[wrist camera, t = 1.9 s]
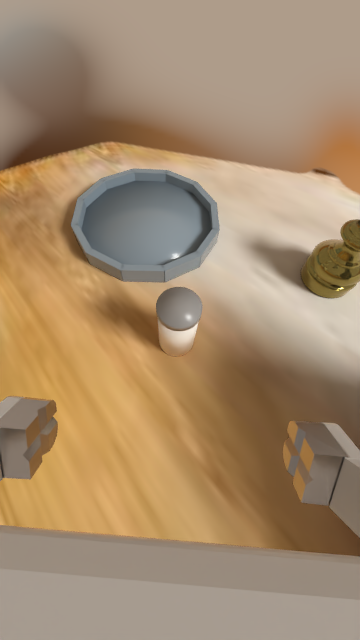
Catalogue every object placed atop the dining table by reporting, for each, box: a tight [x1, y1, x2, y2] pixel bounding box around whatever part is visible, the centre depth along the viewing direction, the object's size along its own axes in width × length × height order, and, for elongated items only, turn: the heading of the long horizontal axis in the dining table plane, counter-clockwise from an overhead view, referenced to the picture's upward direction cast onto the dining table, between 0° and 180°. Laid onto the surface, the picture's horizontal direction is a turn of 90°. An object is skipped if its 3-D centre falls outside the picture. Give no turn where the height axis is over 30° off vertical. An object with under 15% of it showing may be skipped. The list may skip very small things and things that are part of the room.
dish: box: [71, 169, 219, 282], centre depth 42 cm, size 22×22×2 cm
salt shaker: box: [301, 219, 360, 298], centre depth 35 cm, size 7×7×10 cm
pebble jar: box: [156, 287, 202, 357], centre depth 30 cm, size 5×5×8 cm
